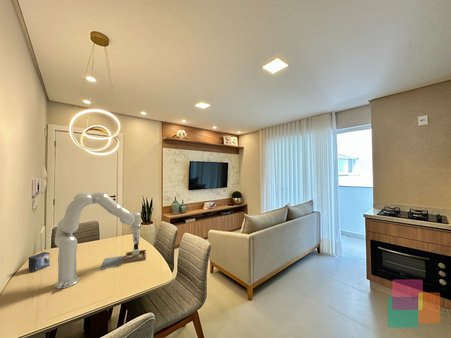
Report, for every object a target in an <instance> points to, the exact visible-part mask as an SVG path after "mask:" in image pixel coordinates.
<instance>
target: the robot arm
mask: <svg viewBox="0 0 451 338" xmlns="http://www.w3.org/2000/svg"><path fill="white" fill-rule="evenodd" d="M93 204H98V205H99V206H100V207H102V208H103V209H104V210H105V211H106V212H108V213H110V214H111V215H112V216H115V217H117V218H119V221H120V222H121V224H124V225H127V226H130V231H132V242H133V249H134V250H137V249H138V248H139V245H140V243H139V242H140V241H141V237H140V236H141V234H140V233H141V232H140V231H141V225H142V224H141V223H142V222H141V213H140V212H137V211H136V212H132V213H131V212H129V211H128V210H127V209H125V208H124V207H123V206H121V205H120V204H118V202H117V201H115V200H114V199H113V198H111V196H109V195H108V194H107V193H103V192H81V193H80V192H79V193H77V194H76V195H74V197H73V200H72V201H71V202H70V203H69V204H68V205H67V207H66V210H65V211H64V212H65V213H64V217H63V218H61V219H60V220H59V221H58V223H57V226H56V231H55V236H54V237H55V238H54V245H55V246H56V247H57V248H58V255H57V282H56V283H55V284H54V288H55V289H58V290H59V289H67V288H69V287H73V286H74V285H76V284H78V282H79V281H80V277H79V276H77V249H78V240H77V239H78V238H76V236H74V235H73V233H75V232H76V231H78V229H79V226H80V225H79V224H80V220H81V216H82V211H83V210H84V209H85V208H86V207H87V206H88V207H89V205H93Z"/></svg>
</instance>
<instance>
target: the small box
mask: <svg viewBox="0 0 451 338" xmlns="http://www.w3.org/2000/svg"><path fill="white" fill-rule="evenodd" d="M50 254H51V253H50V252H46V251H42V252H40V253H37V254H33V255H32V256H29V257H28V270H27V272H31V273H36V272H38V271H40V270H42V269H44V268H47V267H49V266H50V257H51V256H50Z"/></svg>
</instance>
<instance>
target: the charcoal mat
mask: <svg viewBox="0 0 451 338" xmlns="http://www.w3.org/2000/svg"><path fill="white" fill-rule="evenodd" d="M124 258H125V255H120V256H119V255H118V256H112V257H107V258H104V260H103V262H102V264H101V266H100V268H99V271H104V270H106V269H110V268H117V267H118V268H119V267H121V266H122V263H123V261H124Z"/></svg>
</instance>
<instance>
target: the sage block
mask: <svg viewBox="0 0 451 338" xmlns="http://www.w3.org/2000/svg"><path fill="white" fill-rule="evenodd" d="M139 251H140V248H139V247H138V249H137V250H134V248H132V251H131V252H132V258H138V257H139Z"/></svg>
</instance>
